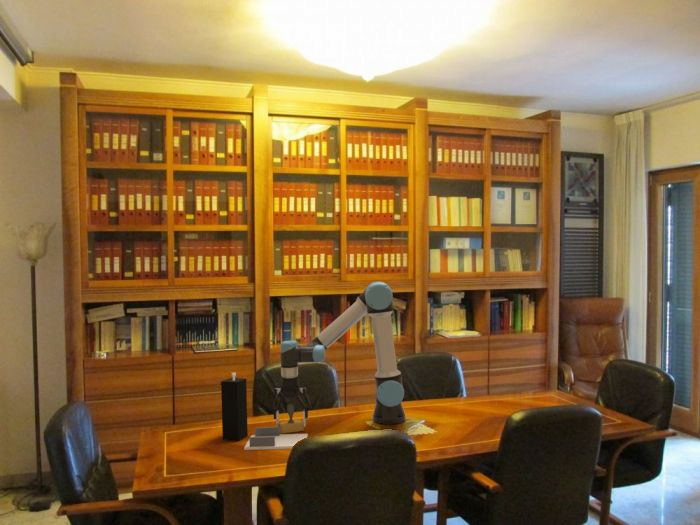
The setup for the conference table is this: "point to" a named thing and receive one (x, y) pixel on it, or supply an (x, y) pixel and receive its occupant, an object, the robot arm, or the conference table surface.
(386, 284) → the robot arm
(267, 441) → the docking plate
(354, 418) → the conference table surface
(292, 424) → the rubber stamp
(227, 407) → the black square column
